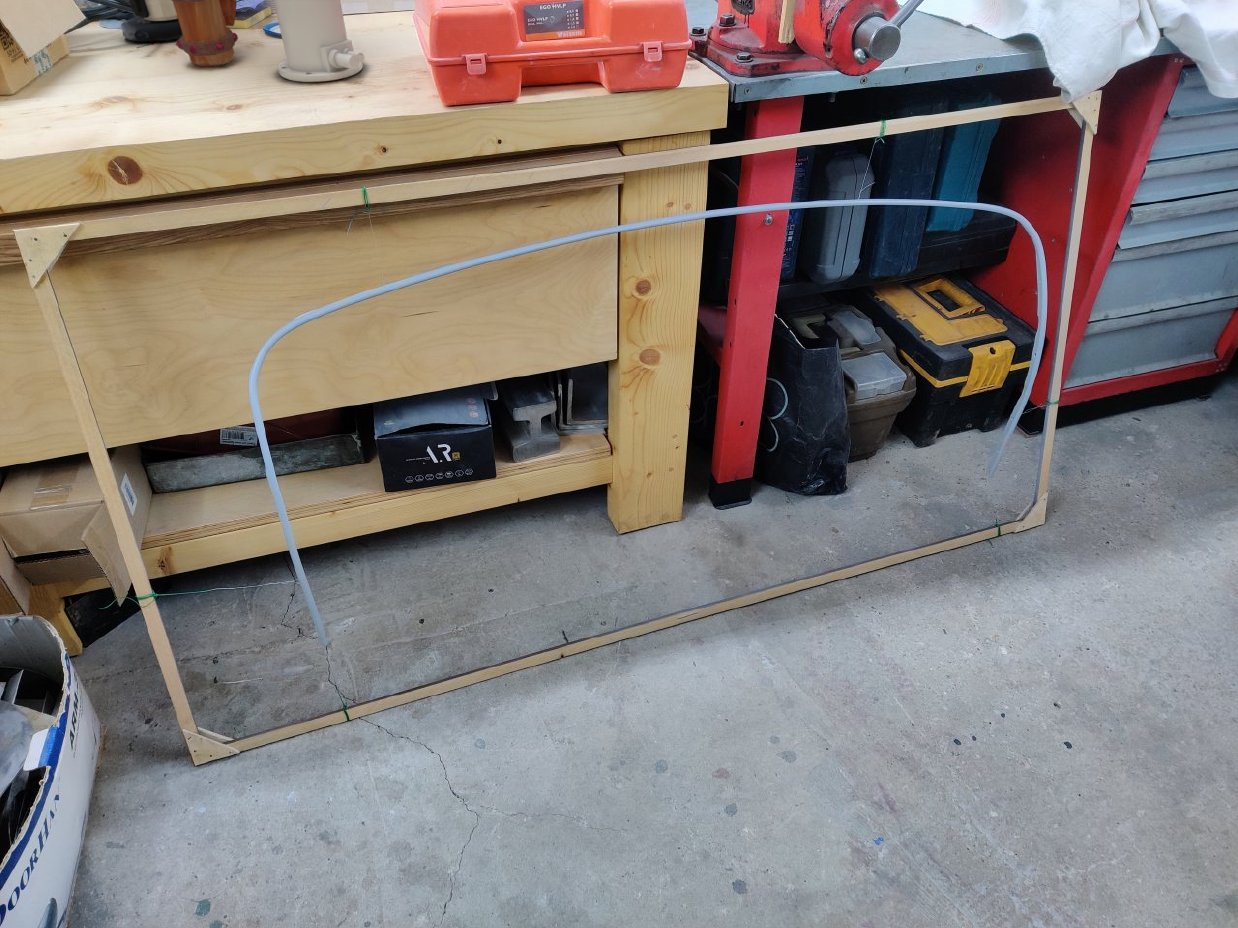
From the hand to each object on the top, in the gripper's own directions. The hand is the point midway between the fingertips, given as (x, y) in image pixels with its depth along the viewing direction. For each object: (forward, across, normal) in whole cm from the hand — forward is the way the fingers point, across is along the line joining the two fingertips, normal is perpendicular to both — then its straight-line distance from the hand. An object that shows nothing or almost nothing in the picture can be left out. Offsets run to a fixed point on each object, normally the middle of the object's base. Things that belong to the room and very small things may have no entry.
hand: (163, 11), depth 151 cm
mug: (+4, -4, -19) cm, 20 cm away
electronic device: (+4, 0, 0) cm, 4 cm away
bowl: (+1, 0, 0) cm, 1 cm away
